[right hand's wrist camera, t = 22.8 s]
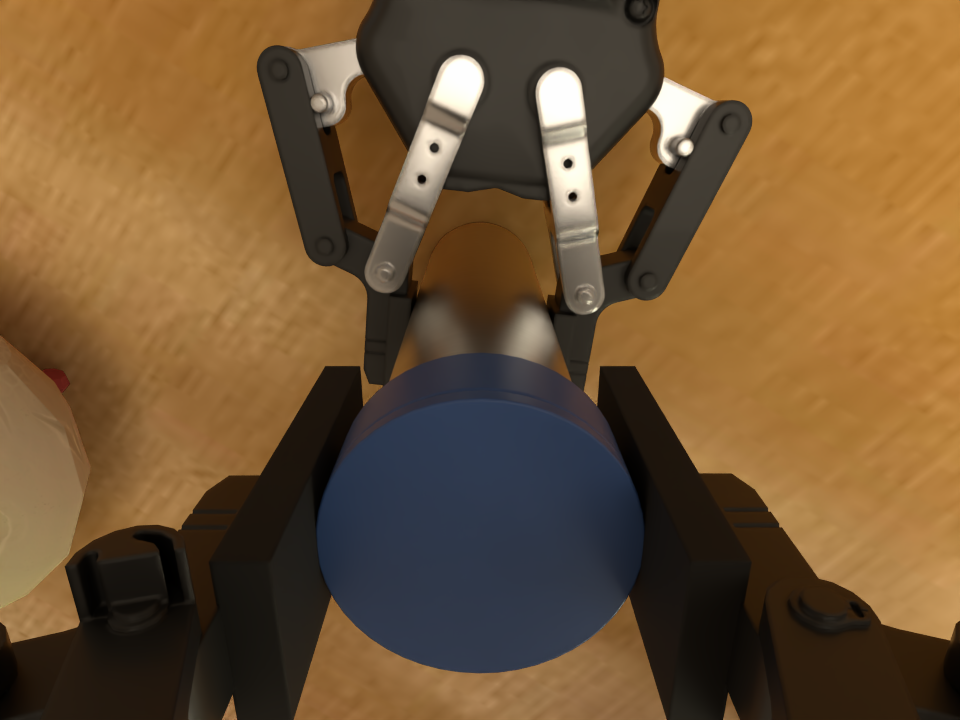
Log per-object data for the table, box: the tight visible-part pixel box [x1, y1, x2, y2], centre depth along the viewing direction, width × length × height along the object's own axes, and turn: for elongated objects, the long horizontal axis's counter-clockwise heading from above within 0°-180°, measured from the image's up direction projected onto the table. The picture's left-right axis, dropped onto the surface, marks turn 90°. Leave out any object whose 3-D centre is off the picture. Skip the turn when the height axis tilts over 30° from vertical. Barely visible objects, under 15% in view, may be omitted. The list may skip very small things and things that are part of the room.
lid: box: [316, 353, 645, 673], centre depth 11 cm, size 5×5×2 cm
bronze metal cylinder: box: [389, 222, 572, 382], centre depth 19 cm, size 4×4×18 cm
